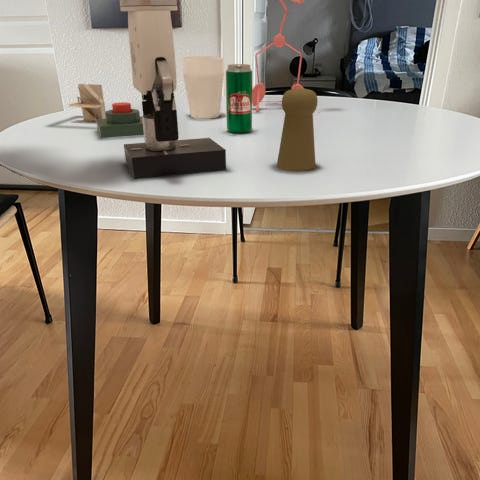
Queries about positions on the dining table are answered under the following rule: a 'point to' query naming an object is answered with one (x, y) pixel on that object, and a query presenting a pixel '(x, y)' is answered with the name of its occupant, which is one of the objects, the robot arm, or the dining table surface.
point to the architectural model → (90, 102)
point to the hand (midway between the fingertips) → (160, 134)
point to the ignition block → (120, 124)
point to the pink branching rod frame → (258, 89)
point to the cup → (203, 85)
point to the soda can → (239, 98)
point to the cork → (298, 131)
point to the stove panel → (175, 158)
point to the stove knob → (150, 136)
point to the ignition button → (121, 107)
